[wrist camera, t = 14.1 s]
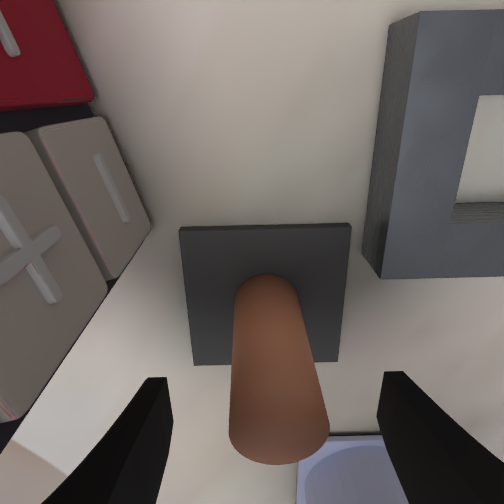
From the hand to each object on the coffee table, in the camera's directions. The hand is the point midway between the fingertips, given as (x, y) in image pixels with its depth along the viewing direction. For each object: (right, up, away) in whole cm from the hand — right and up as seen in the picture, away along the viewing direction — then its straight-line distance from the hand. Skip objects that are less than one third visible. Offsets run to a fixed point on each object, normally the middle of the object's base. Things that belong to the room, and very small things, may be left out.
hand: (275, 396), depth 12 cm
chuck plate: (+9, +9, +3) cm, 13 cm away
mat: (0, +3, +6) cm, 6 cm away
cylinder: (0, +2, +5) cm, 6 cm away
